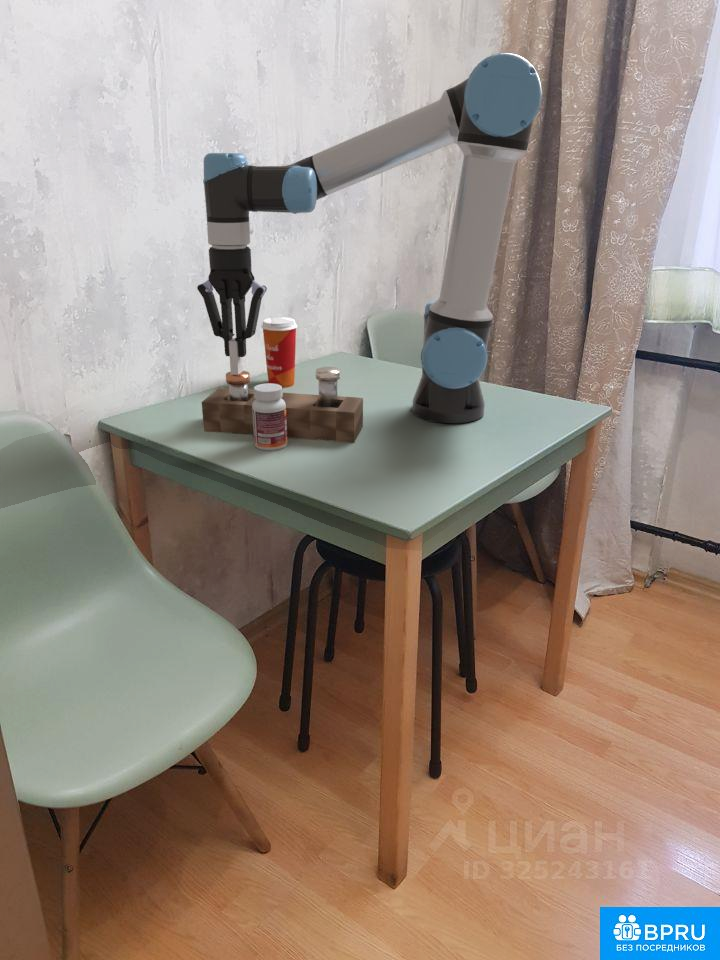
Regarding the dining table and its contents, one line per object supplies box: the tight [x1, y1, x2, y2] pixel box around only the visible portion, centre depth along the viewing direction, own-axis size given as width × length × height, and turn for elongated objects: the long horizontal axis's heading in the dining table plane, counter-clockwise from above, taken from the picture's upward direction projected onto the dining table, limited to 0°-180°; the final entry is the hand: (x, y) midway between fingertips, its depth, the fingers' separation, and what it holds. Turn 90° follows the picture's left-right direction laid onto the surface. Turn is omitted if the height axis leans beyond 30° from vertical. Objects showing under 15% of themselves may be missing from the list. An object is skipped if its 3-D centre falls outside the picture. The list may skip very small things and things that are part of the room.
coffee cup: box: [260, 316, 298, 389], centre depth 170 cm, size 8×8×15 cm
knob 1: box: [225, 370, 251, 402], centre depth 144 cm, size 5×5×7 cm
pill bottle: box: [252, 382, 288, 451], centre depth 135 cm, size 6×6×11 cm
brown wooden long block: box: [201, 387, 364, 444], centre depth 145 cm, size 30×9×6 cm, turn 79°
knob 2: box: [315, 366, 341, 408], centre depth 141 cm, size 5×5×7 cm
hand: (236, 372), depth 143 cm, fingers closed
